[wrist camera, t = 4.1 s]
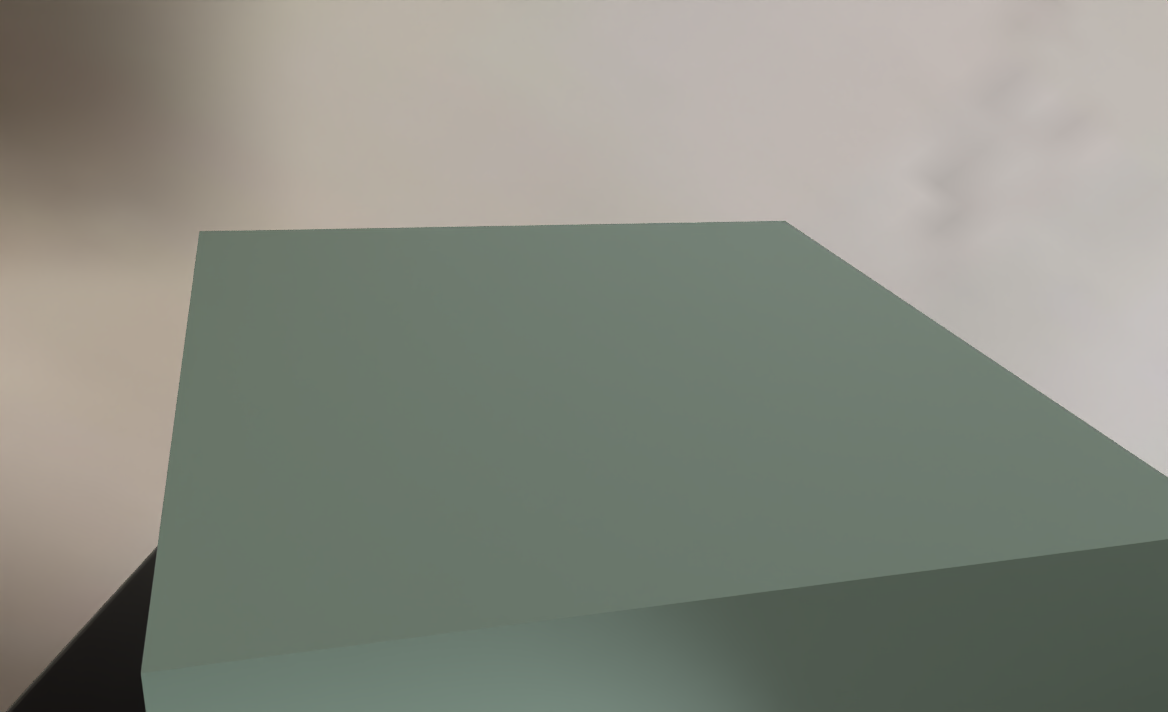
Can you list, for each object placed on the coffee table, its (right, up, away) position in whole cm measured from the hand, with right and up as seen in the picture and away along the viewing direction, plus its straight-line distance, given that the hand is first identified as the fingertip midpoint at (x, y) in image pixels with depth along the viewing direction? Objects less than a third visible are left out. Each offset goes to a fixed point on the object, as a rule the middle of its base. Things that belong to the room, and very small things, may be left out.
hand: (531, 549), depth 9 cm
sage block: (0, 0, +1) cm, 1 cm away
